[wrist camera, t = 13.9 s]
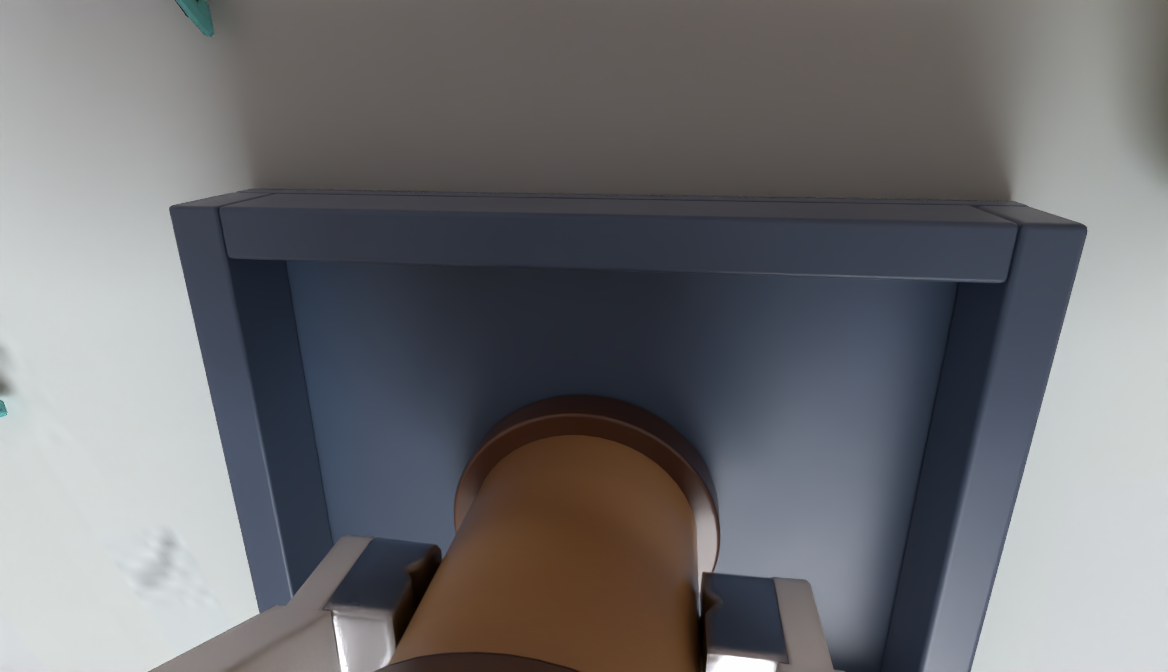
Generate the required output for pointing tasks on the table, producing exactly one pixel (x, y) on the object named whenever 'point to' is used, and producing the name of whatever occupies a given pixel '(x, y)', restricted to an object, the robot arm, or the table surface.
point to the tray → (646, 373)
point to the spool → (572, 548)
